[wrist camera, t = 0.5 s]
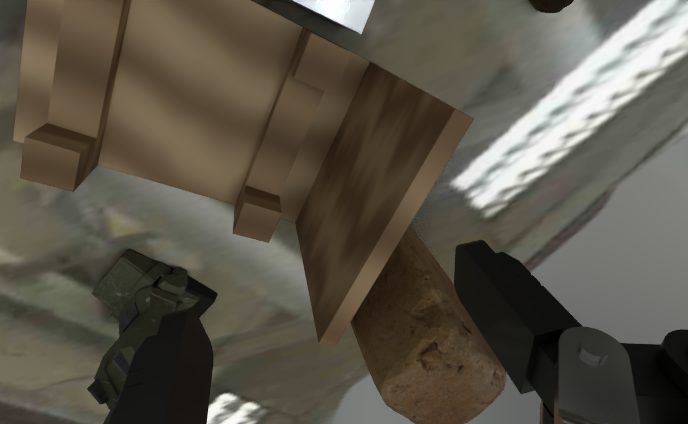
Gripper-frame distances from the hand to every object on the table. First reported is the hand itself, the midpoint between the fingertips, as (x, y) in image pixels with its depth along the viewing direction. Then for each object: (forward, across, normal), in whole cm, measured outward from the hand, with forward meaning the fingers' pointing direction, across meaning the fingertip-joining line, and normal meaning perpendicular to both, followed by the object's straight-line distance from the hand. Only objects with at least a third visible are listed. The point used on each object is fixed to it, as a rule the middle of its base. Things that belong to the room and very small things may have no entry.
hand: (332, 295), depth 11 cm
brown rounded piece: (+24, -6, +15) cm, 29 cm away
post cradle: (+24, +6, -2) cm, 25 cm away
